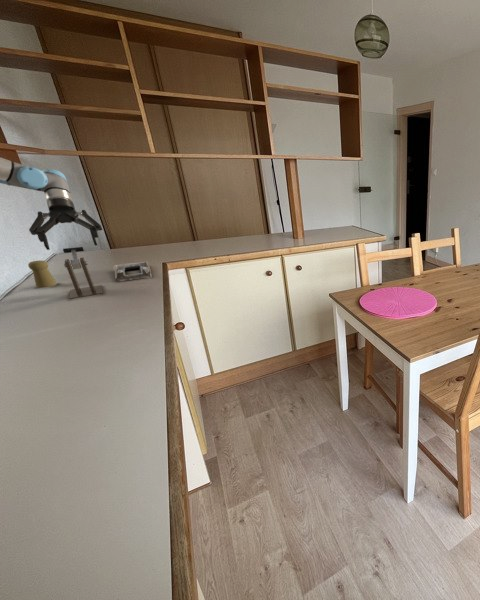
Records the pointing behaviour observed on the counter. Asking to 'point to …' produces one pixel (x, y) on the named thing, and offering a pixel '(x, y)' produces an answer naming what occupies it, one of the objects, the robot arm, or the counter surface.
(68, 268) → the bracket
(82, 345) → the counter surface
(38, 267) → the cork
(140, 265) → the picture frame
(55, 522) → the counter surface
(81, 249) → the tap lever
